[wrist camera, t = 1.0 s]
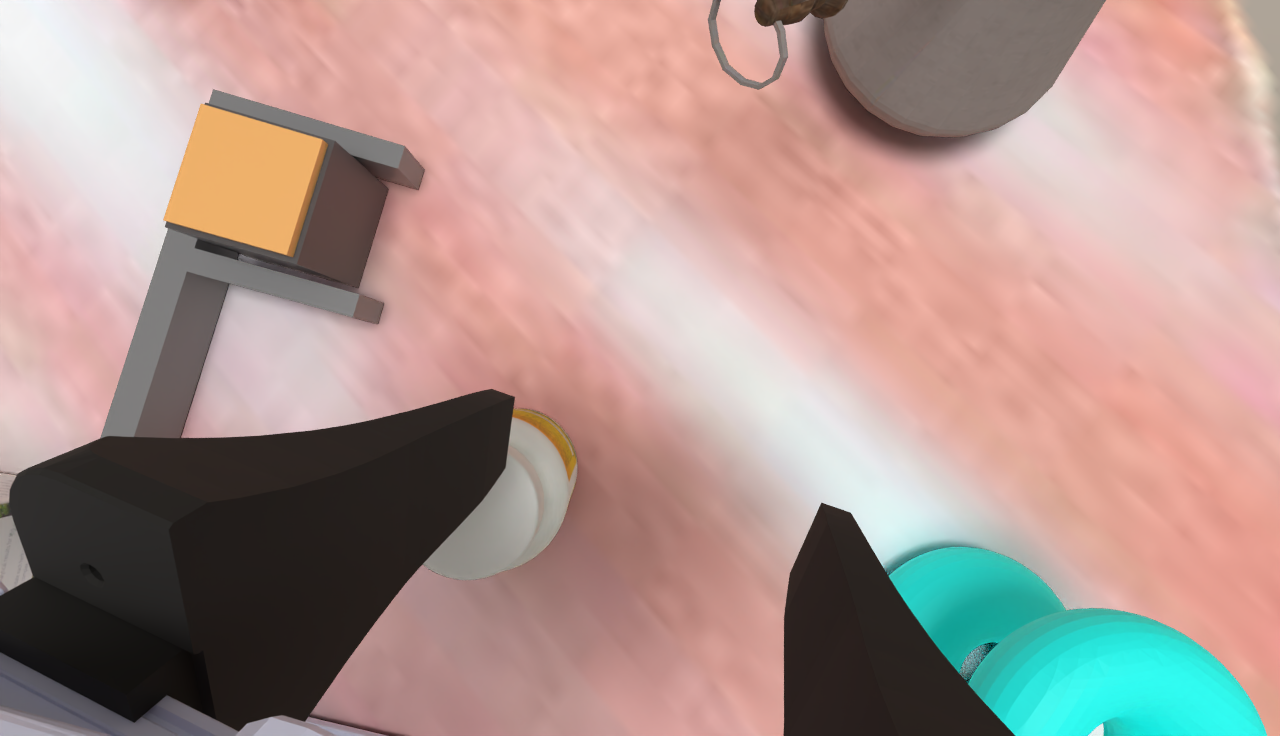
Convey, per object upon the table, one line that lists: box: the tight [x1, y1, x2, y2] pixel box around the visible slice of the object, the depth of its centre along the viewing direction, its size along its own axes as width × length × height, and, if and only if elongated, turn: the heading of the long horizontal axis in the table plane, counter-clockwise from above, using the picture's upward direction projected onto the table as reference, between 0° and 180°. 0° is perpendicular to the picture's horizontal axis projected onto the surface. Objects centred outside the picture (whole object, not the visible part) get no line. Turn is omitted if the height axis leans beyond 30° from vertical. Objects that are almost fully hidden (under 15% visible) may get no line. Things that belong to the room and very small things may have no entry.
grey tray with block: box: [101, 89, 424, 438], centre depth 22 cm, size 20×8×5 cm, turn 164°
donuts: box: [889, 547, 1267, 736], centre depth 21 cm, size 10×10×10 cm
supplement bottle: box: [423, 408, 578, 580], centre depth 20 cm, size 5×5×10 cm
